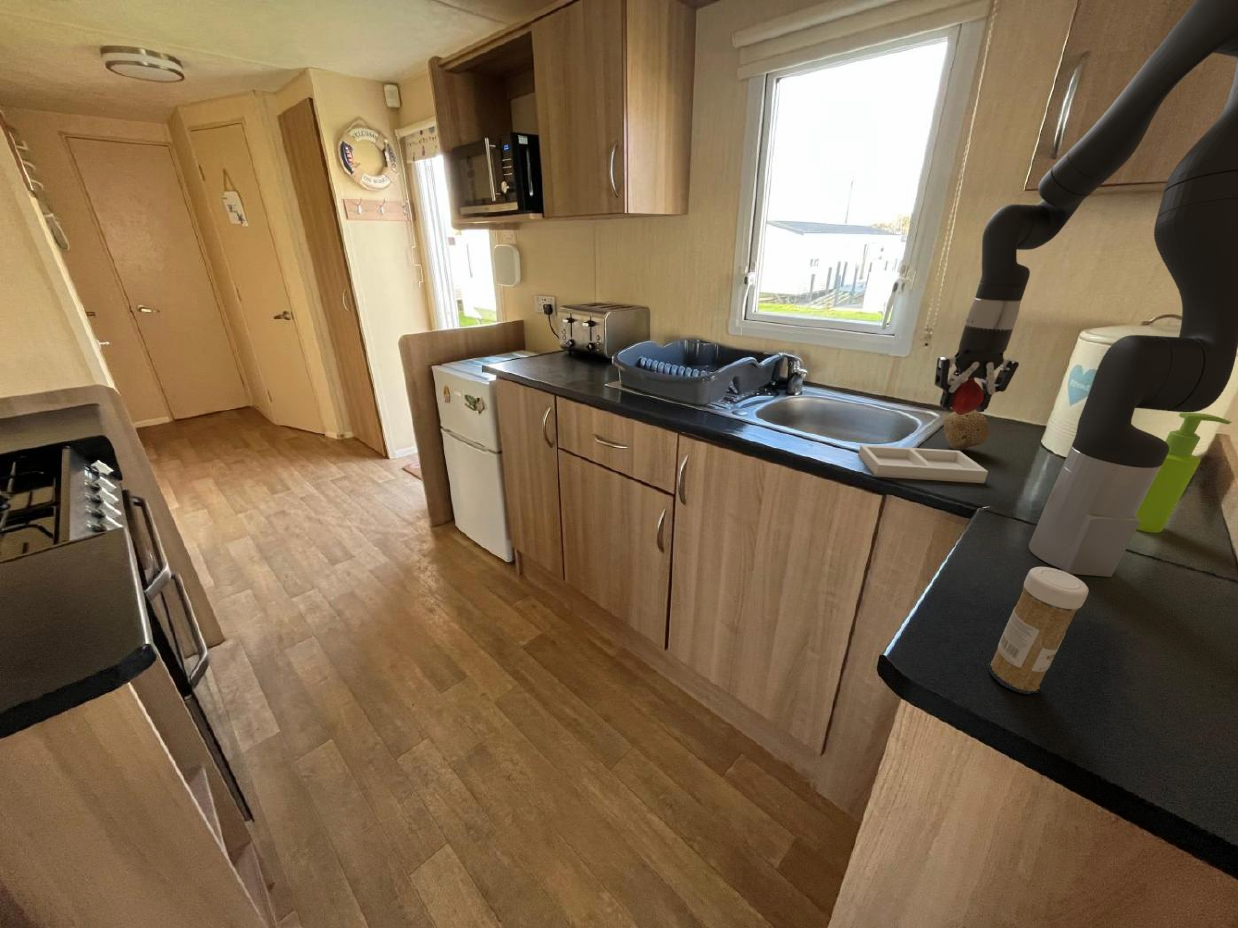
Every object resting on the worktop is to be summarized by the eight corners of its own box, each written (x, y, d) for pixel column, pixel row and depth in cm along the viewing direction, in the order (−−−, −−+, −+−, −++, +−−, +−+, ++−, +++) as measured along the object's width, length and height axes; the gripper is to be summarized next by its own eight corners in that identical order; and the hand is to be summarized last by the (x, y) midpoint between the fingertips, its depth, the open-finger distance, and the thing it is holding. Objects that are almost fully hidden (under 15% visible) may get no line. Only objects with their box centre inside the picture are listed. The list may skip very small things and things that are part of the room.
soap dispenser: (1178, 536, 81) (1243, 423, 72) (1125, 528, 83) (1183, 417, 75) (1156, 520, 86) (1215, 412, 77) (1108, 512, 88) (1160, 406, 80)
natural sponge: (979, 447, 116) (993, 407, 112) (985, 460, 109) (1000, 418, 105) (935, 440, 120) (947, 401, 116) (938, 452, 113) (951, 411, 109)
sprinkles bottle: (1045, 702, 50) (1100, 598, 45) (993, 689, 52) (1041, 587, 46) (1028, 669, 54) (1076, 570, 49) (980, 658, 56) (1022, 560, 50)
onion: (982, 420, 96) (995, 381, 92) (950, 418, 97) (962, 379, 93) (969, 412, 101) (981, 374, 97) (938, 409, 102) (950, 372, 98)
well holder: (983, 483, 98) (988, 471, 97) (875, 476, 100) (878, 464, 99) (955, 461, 108) (959, 450, 107) (858, 455, 110) (860, 445, 109)
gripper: (959, 326, 89) (933, 414, 95) (1044, 329, 87) (1011, 418, 94) (939, 320, 95) (916, 403, 102) (1017, 323, 94) (989, 406, 101)
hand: (962, 409), depth 98 cm, fingers closed on onion, 5 cm apart
